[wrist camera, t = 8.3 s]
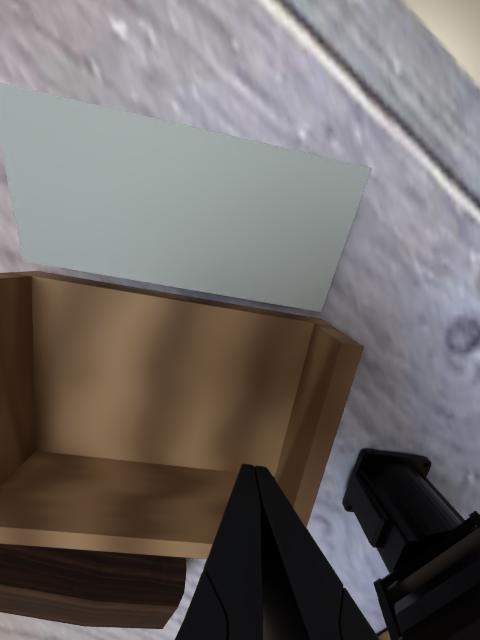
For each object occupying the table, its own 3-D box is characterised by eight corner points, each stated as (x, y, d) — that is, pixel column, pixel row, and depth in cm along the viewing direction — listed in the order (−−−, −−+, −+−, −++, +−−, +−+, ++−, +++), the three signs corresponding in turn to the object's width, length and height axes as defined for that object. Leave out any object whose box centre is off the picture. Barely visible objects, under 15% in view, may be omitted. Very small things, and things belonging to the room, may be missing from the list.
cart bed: (320, 318, 18) (375, 353, 11) (280, 469, 21) (304, 566, 15) (36, 271, 16) (-100, 278, 10) (39, 442, 20) (-61, 538, 13)
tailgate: (312, 301, 17) (355, 173, 14) (321, 312, 15) (372, 167, 12) (46, 255, 15) (23, 98, 12) (23, 261, 14) (-12, 80, 10)
